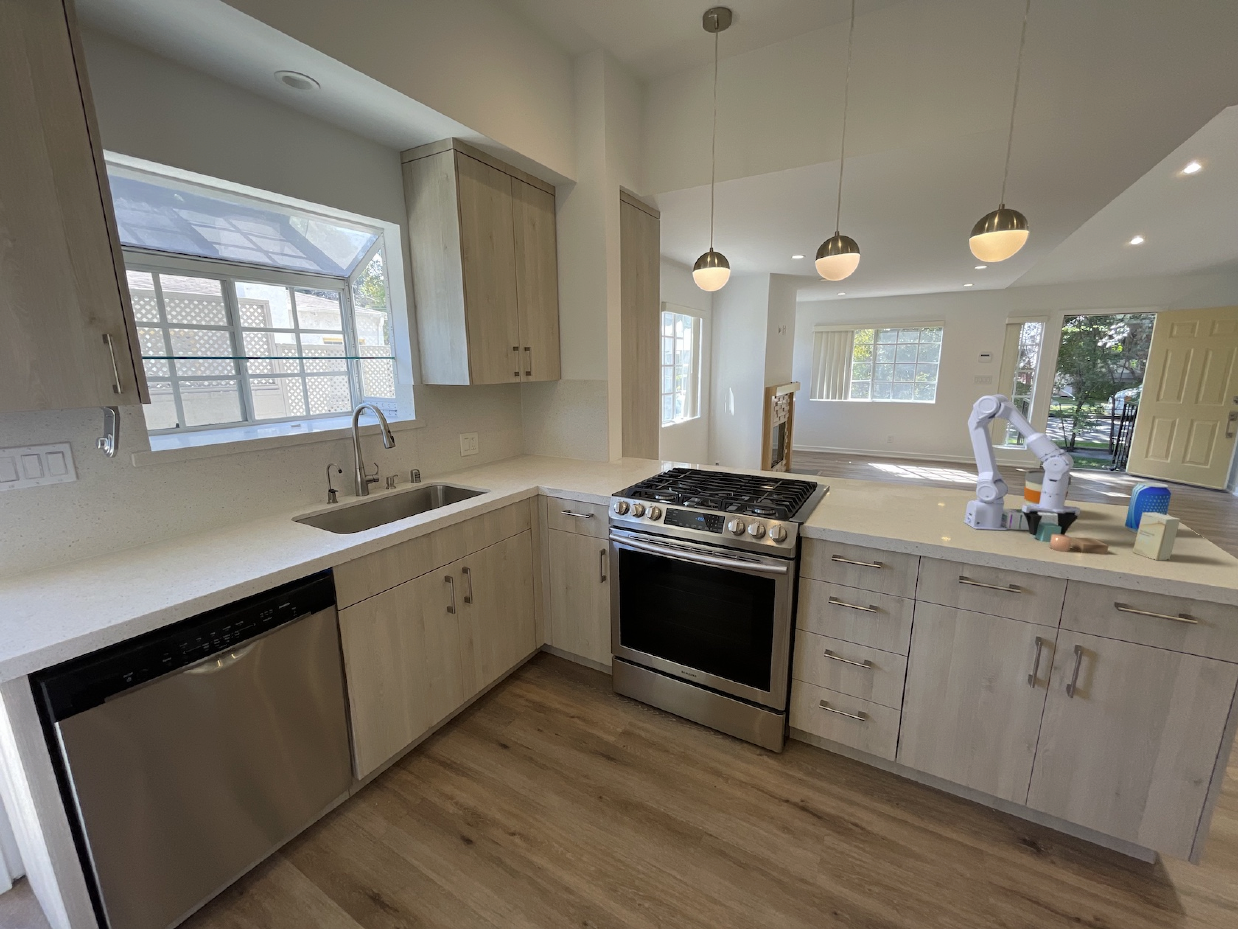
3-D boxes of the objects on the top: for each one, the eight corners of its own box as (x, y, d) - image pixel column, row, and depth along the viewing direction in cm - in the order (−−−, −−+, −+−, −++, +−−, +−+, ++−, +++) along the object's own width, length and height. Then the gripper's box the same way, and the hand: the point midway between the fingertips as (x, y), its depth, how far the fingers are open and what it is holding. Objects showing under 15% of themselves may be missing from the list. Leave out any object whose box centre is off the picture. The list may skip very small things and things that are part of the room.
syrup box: (1059, 514, 158) (1008, 512, 161) (1056, 532, 159) (1006, 529, 162) (1047, 510, 163) (999, 507, 166) (1044, 526, 165) (996, 524, 167)
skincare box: (1131, 552, 141) (1140, 512, 139) (1145, 551, 142) (1154, 511, 139) (1157, 561, 135) (1166, 519, 133) (1171, 560, 136) (1181, 518, 133)
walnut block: (1081, 553, 141) (1083, 544, 141) (1067, 546, 147) (1069, 537, 147) (1106, 555, 140) (1108, 545, 140) (1091, 547, 146) (1093, 538, 145)
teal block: (1042, 541, 151) (1044, 526, 150) (1032, 536, 155) (1035, 521, 154) (1058, 542, 150) (1061, 527, 149) (1048, 537, 154) (1051, 522, 153)
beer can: (1150, 529, 161) (1160, 482, 157) (1169, 537, 153) (1180, 488, 150) (1118, 526, 163) (1127, 480, 160) (1134, 534, 156) (1144, 486, 152)
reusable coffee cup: (1065, 521, 169) (1072, 479, 166) (1018, 514, 177) (1025, 474, 174) (1064, 513, 178) (1071, 473, 175) (1020, 507, 186) (1026, 468, 183)
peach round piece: (1055, 551, 143) (1058, 538, 142) (1045, 546, 147) (1047, 533, 146) (1073, 552, 142) (1075, 539, 141) (1062, 546, 146) (1064, 534, 145)
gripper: (1035, 495, 147) (1028, 538, 149) (1090, 497, 144) (1082, 540, 147) (1020, 489, 154) (1014, 530, 156) (1073, 491, 151) (1065, 532, 154)
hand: (1046, 535), depth 152 cm, fingers open, 7 cm apart
